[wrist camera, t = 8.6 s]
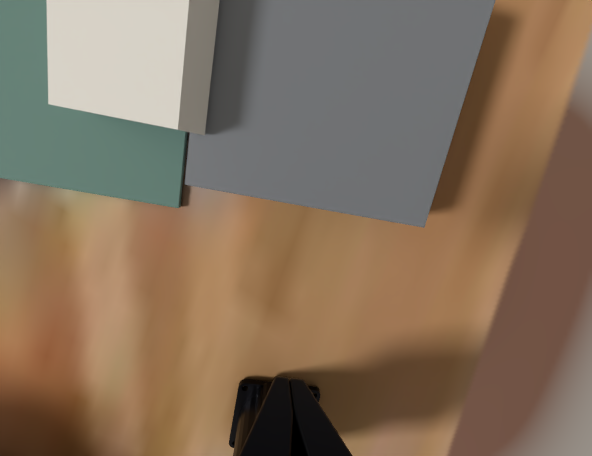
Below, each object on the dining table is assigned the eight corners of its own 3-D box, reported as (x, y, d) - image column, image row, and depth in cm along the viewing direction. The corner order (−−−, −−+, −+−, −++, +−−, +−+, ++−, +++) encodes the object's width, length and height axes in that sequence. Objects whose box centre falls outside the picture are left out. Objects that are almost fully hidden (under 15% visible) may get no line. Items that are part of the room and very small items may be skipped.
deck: (402, 216, 20) (424, 227, 17) (199, 179, 18) (184, 184, 15) (458, 24, 17) (496, -3, 14) (222, -41, 15) (210, -85, 13)
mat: (180, 206, 19) (178, 208, 18) (-59, 166, 17) (-67, 166, 17) (208, -91, 15) (206, -97, 14) (-97, -180, 13) (-108, -189, 13)
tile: (204, 135, 14) (177, 129, 13) (86, 112, 16) (48, 104, 15) (222, -25, 13) (194, -59, 11) (88, -29, 15) (45, -59, 13)
